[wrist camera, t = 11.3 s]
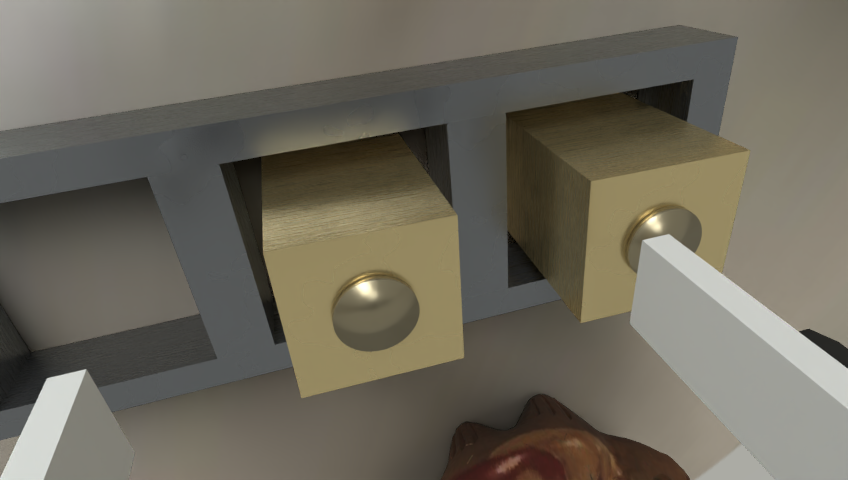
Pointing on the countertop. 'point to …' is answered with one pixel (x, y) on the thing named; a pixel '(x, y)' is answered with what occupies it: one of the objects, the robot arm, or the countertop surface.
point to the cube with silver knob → (361, 262)
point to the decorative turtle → (552, 450)
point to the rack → (305, 128)
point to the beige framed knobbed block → (615, 194)
